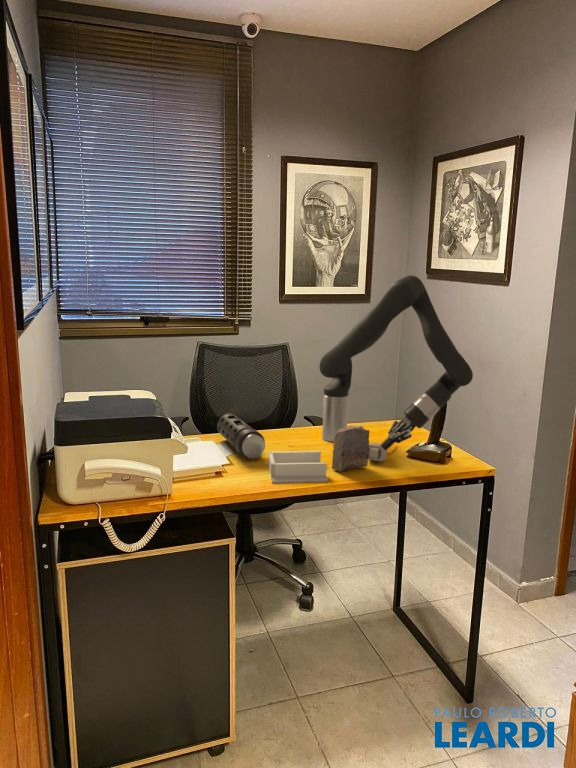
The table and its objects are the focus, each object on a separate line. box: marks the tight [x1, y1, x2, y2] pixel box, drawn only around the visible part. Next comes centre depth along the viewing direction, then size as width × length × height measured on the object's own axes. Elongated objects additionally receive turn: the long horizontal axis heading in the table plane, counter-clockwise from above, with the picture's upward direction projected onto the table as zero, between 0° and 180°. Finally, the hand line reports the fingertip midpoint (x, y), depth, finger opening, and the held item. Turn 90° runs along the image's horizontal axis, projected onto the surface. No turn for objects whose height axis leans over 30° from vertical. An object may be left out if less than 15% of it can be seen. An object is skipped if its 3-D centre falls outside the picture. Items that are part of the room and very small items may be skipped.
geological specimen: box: [331, 425, 370, 473], centre depth 184 cm, size 11×6×15 cm, turn 119°
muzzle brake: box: [216, 413, 266, 459], centre depth 202 cm, size 10×28×10 cm, turn 23°
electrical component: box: [368, 442, 398, 462], centre depth 202 cm, size 24×6×5 cm, turn 156°
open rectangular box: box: [267, 450, 329, 484], centre depth 181 cm, size 16×17×4 cm
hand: (382, 447), depth 185 cm, fingers closed
